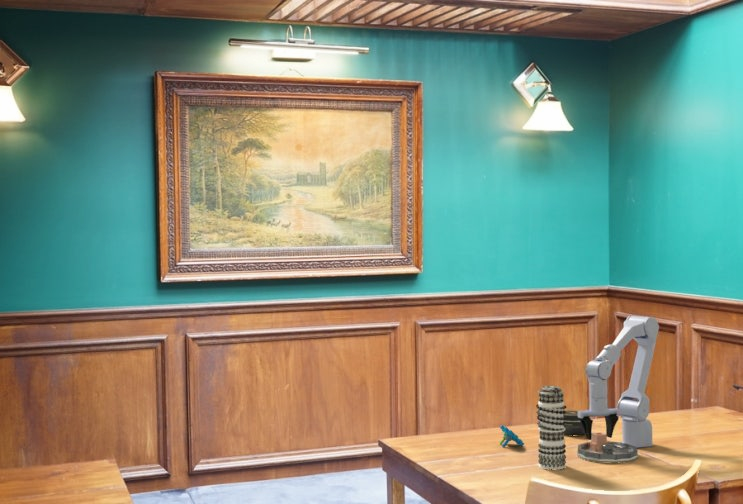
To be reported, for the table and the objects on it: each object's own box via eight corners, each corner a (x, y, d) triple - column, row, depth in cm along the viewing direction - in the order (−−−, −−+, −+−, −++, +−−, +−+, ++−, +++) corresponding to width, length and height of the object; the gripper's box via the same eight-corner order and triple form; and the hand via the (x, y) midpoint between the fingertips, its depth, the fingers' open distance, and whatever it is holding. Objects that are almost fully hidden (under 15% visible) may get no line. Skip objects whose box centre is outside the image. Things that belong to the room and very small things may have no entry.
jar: (565, 429, 347) (565, 409, 347) (590, 432, 341) (590, 411, 341) (553, 434, 339) (553, 413, 339) (579, 437, 333) (579, 416, 333)
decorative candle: (561, 471, 287) (559, 390, 286) (532, 468, 292) (531, 388, 291) (571, 465, 295) (570, 385, 294) (543, 461, 300) (542, 383, 299)
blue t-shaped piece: (529, 444, 317) (507, 424, 317) (518, 457, 316) (496, 437, 316) (518, 441, 328) (498, 422, 328) (508, 454, 327) (487, 435, 327)
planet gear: (602, 446, 314) (601, 431, 314) (610, 449, 309) (610, 434, 309) (587, 447, 313) (587, 432, 312) (596, 451, 307) (595, 436, 307)
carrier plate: (617, 447, 318) (617, 431, 317) (649, 460, 299) (649, 443, 299) (566, 452, 312) (566, 436, 312) (596, 465, 294) (596, 448, 294)
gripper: (611, 393, 316) (611, 433, 316) (572, 396, 312) (573, 437, 312) (622, 397, 309) (623, 438, 310) (583, 400, 305) (584, 441, 306)
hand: (599, 438), depth 311 cm, fingers open, 7 cm apart
